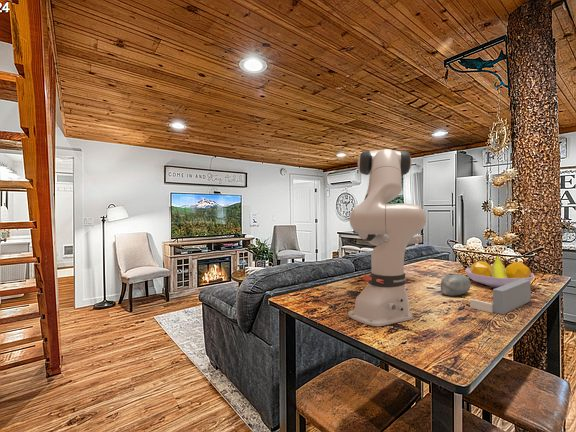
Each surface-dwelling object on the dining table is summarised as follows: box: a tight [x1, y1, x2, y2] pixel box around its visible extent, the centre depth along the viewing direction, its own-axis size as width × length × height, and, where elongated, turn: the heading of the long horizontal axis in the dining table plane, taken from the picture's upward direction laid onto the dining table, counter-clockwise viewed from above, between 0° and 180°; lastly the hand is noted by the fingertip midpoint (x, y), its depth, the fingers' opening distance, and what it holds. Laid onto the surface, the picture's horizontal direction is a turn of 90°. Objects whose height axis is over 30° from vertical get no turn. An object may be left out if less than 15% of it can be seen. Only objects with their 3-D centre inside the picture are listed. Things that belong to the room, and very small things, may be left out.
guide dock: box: [469, 279, 532, 315], centre depth 109 cm, size 26×10×8 cm, turn 123°
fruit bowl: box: [464, 255, 536, 288], centre depth 137 cm, size 28×27×11 cm
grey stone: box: [440, 273, 471, 297], centre depth 124 cm, size 14×10×10 cm
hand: (419, 241), depth 137 cm, fingers closed
